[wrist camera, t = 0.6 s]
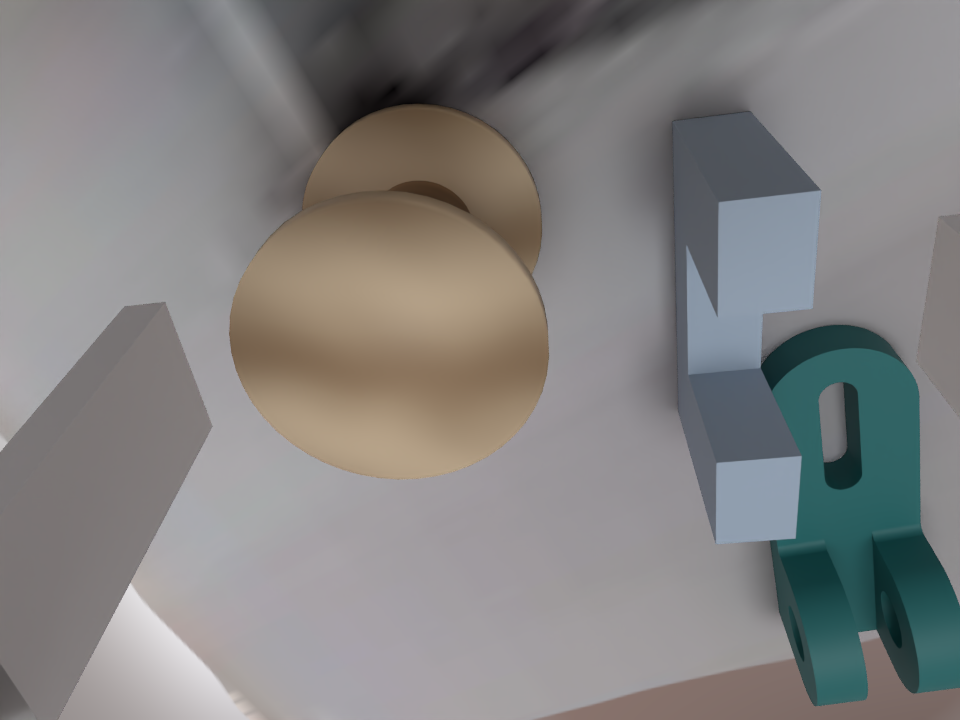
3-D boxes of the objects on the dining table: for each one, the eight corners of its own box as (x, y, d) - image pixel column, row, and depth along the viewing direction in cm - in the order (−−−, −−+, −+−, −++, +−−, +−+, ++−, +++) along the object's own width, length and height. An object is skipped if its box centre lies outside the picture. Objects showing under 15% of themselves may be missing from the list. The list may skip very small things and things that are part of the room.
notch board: (672, 120, 33) (718, 202, 25) (750, 111, 33) (821, 190, 25) (678, 411, 40) (715, 544, 32) (742, 406, 40) (795, 538, 32)
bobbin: (280, 120, 33) (186, 223, 24) (528, 88, 32) (531, 182, 23) (336, 335, 39) (277, 490, 29) (551, 313, 37) (562, 466, 28)
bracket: (904, 590, 46) (970, 717, 39) (778, 609, 47) (821, 736, 40) (897, 308, 37) (982, 409, 30) (742, 340, 38) (790, 444, 31)
